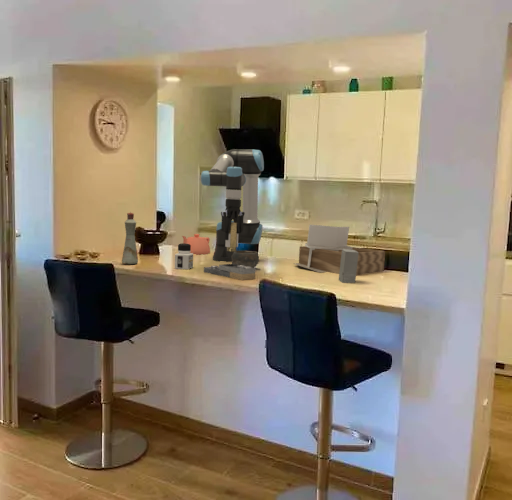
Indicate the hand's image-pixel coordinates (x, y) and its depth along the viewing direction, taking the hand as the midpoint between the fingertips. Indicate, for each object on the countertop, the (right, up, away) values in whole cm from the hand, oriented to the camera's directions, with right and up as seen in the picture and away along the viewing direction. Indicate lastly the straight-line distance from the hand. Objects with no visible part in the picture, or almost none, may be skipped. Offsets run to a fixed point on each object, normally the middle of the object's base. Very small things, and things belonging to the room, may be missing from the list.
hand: (231, 246), depth 280 cm
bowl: (+6, -13, +23) cm, 27 cm away
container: (-26, -11, +22) cm, 36 cm away
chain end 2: (+3, -15, -2) cm, 15 cm away
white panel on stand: (+50, -11, +39) cm, 64 cm away
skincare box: (+56, -18, -6) cm, 59 cm away
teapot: (-27, -5, +83) cm, 87 cm away
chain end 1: (-5, -14, +6) cm, 16 cm away
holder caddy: (+59, -13, +37) cm, 71 cm away
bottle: (-57, -9, +32) cm, 66 cm away
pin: (0, -2, 0) cm, 2 cm away
